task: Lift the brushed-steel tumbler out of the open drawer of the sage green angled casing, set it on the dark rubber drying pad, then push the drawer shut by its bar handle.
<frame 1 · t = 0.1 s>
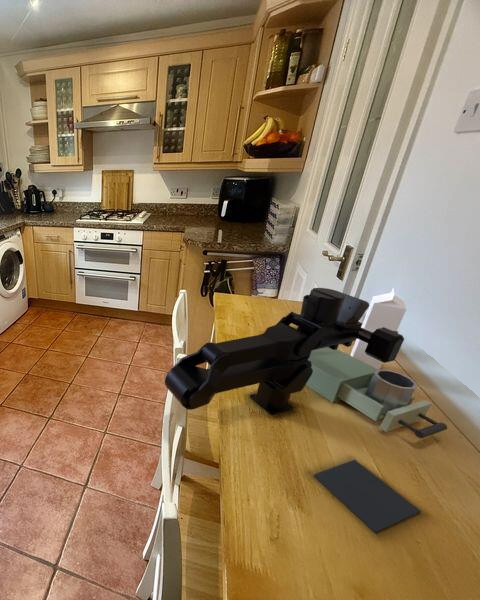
hand: (373, 324, 74), 17 cm above the table, tool horizontal, fingers open, 9 cm apart
drying pad: (363, 493, 54), on the table
sage green angled casing: (326, 381, 81), on the table
drawer: (389, 405, 68), point 3 cm above the table, slide at 9.0 cm, touching tumbler
milk: (362, 365, 87), on the table
tumbler: (382, 406, 70), point 2 cm above the table, touching drawer
cup: (307, 333, 103), on the table
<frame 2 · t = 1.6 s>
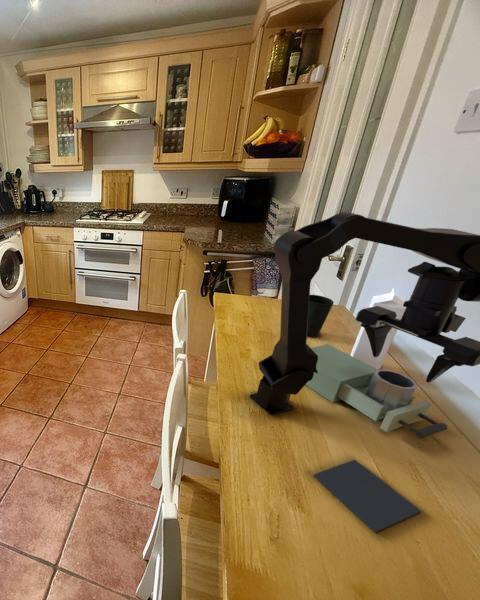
hand: (400, 368, 65), 12 cm above the table, tool pointing down, fingers open, 9 cm apart
nothing on the table moved.
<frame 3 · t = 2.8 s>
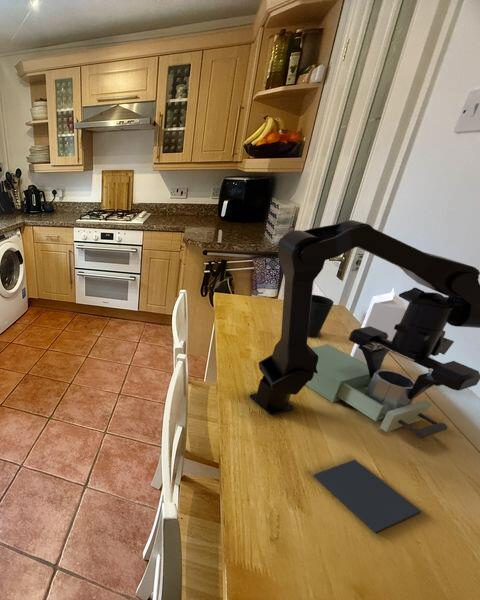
hand: (391, 388, 68), 7 cm above the table, tool pointing down, fingers closed on tumbler, 7 cm apart
tumbler: (382, 406, 70), point 2 cm above the table, touching drawer, gripper
everything else where it was.
when the fingers open (6 cm above the table, at t = 7.9 s): tumbler stays where it is, resting on drying pad.
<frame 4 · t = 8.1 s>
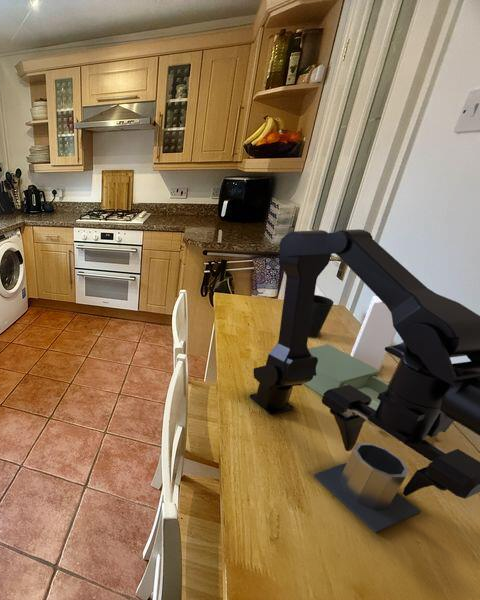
hand: (375, 470, 51), 5 cm above the table, tool pointing down, fingers open, 8 cm apart
drawer: (389, 405, 68), point 3 cm above the table, slide at 9.0 cm
tumbler: (363, 490, 54), resting on drying pad
everything else where it was.
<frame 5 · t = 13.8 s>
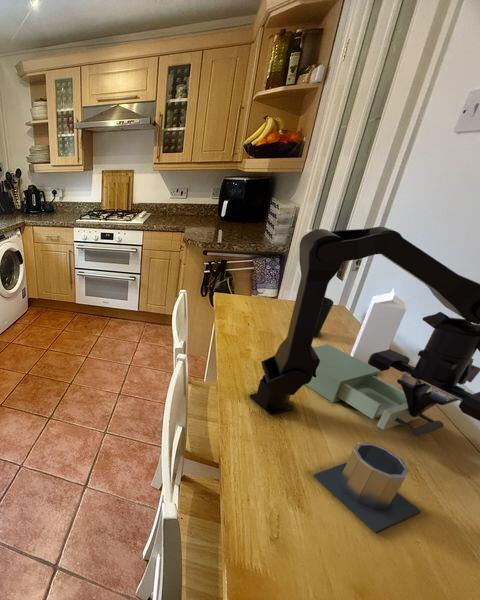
hand: (413, 415, 64), 4 cm above the table, tool pointing down, fingers closed
drawer: (386, 403, 69), point 3 cm above the table, slide at 8.4 cm, touching gripper
everything else where it was.
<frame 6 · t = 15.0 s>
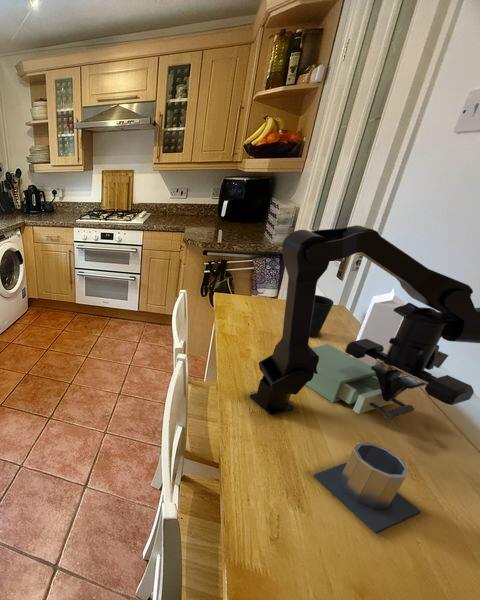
hand: (386, 400, 69), 4 cm above the table, tool pointing down, fingers closed
drawer: (362, 390, 73), point 3 cm above the table, slide at 3.7 cm, touching gripper
everything else where it was.
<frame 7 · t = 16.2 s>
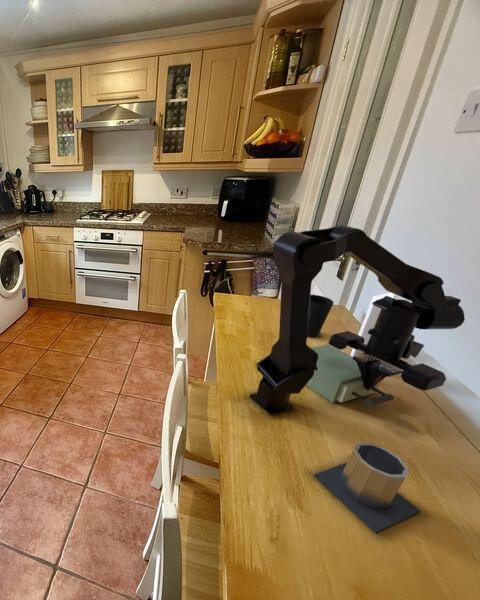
hand: (367, 389, 72), 4 cm above the table, tool pointing down, fingers closed
drawer: (345, 380, 76), point 3 cm above the table, slide at 0.0 cm, touching sage green angled casing, gripper
everything else where it was.
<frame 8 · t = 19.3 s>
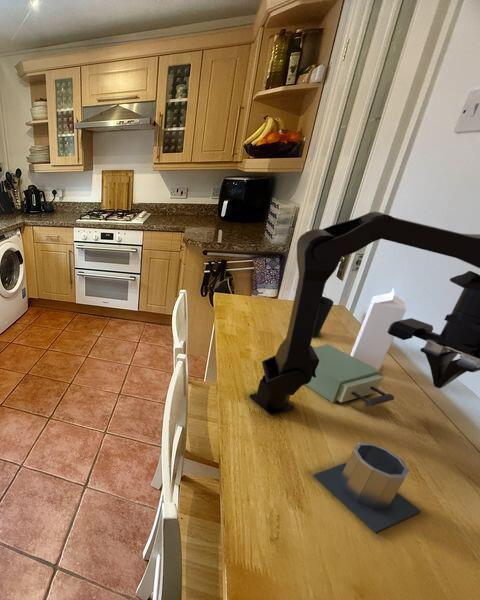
hand: (438, 387, 60), 12 cm above the table, tool pointing down, fingers closed
drawer: (345, 380, 76), point 3 cm above the table, slide at 0.0 cm
everything else where it was.
at the end: tumbler inside the target area on the drying pad (0.1 cm from its centre), point 0.5 cm above the drying pad's base; tumbler tilted 0°; drawer slide at 0.0 cm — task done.
